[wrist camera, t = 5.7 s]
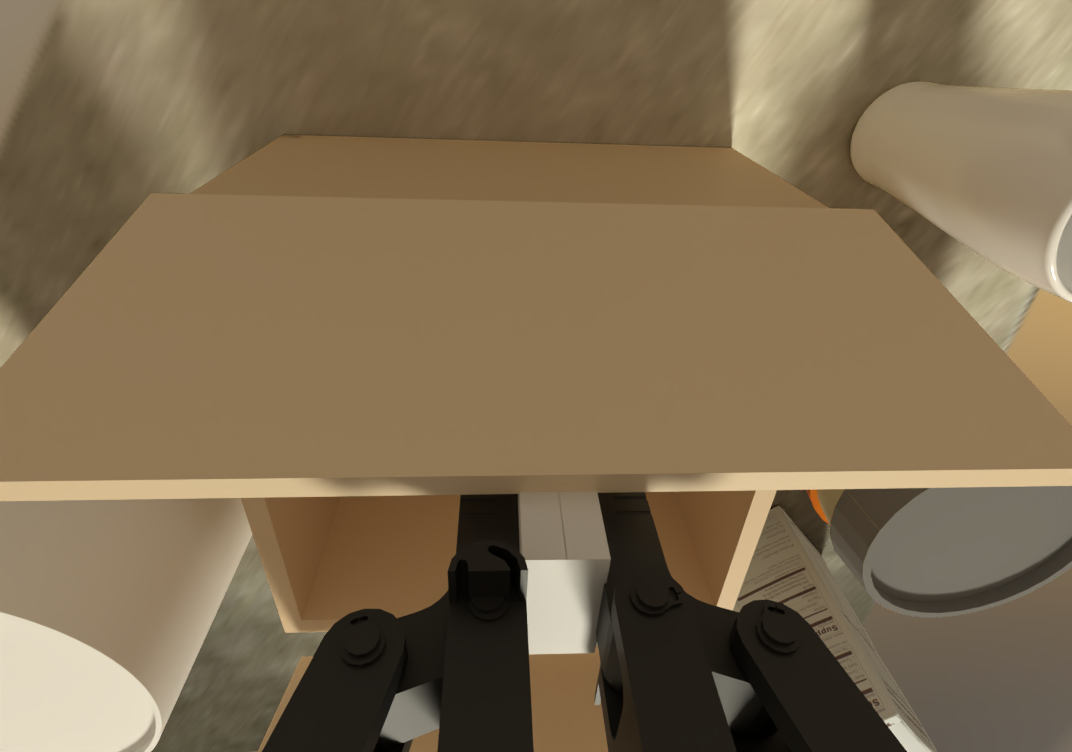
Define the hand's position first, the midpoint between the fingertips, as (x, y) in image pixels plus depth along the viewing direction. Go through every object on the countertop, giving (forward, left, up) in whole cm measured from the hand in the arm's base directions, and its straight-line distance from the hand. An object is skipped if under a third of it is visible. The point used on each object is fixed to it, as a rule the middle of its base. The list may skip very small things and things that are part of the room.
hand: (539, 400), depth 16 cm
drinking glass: (+21, +4, -20) cm, 29 cm away
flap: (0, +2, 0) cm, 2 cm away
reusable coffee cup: (+23, -12, -20) cm, 33 cm away
